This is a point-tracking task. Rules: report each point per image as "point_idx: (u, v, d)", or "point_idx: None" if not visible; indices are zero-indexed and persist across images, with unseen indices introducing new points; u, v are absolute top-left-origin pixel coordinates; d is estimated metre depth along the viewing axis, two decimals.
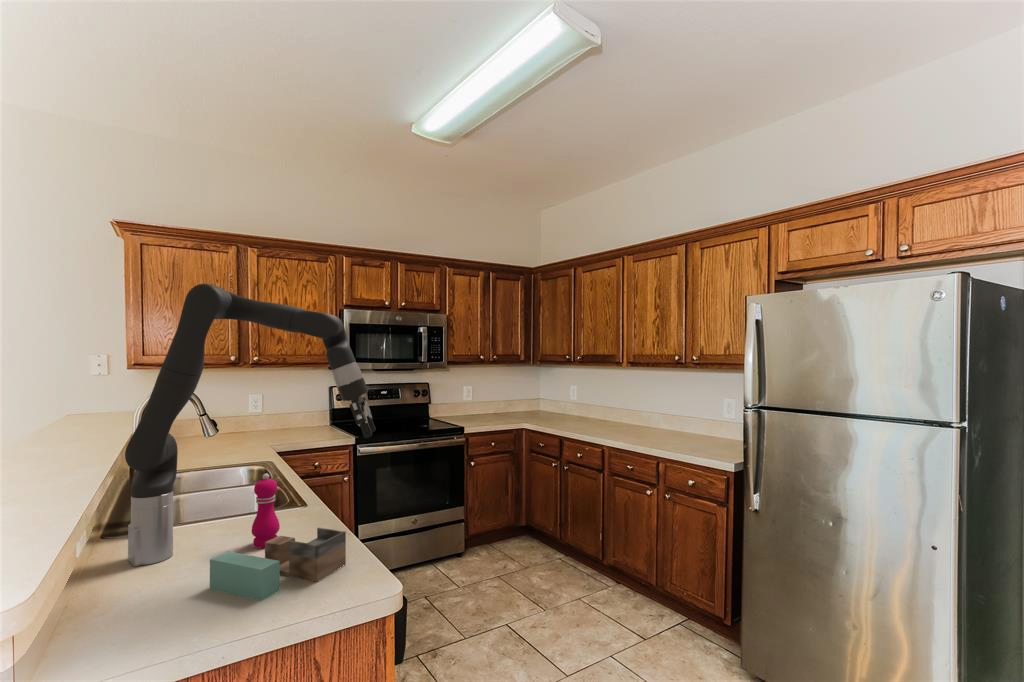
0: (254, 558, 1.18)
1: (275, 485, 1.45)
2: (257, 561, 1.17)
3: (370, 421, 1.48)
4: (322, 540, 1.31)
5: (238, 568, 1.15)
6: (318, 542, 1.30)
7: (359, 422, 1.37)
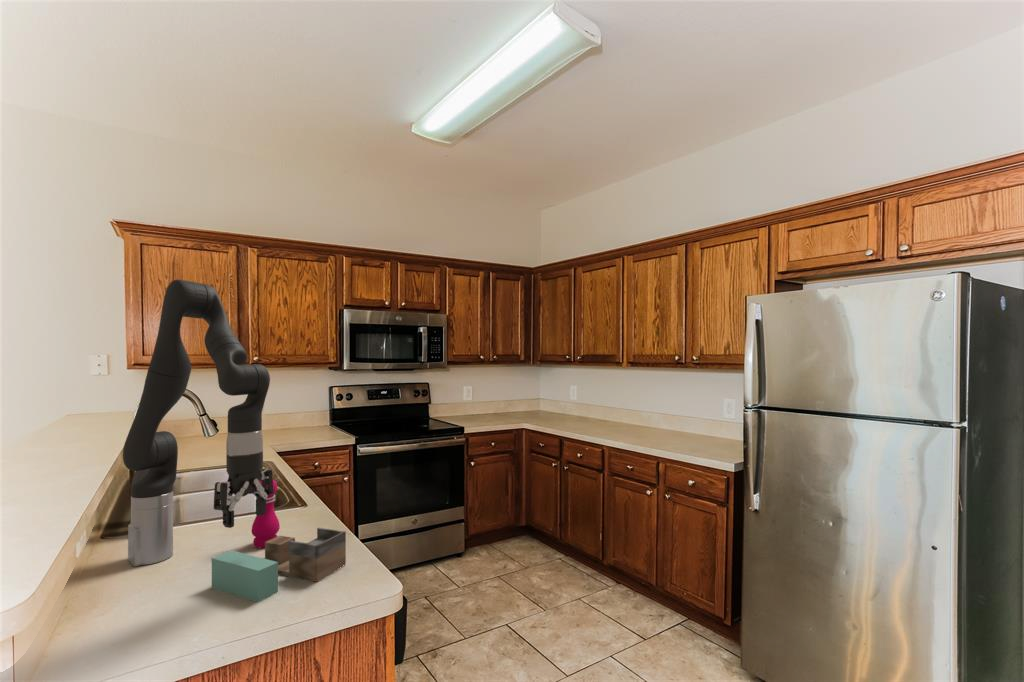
0: (254, 558, 1.18)
1: (275, 485, 1.45)
2: (256, 561, 1.16)
3: (261, 502, 1.21)
4: (322, 540, 1.31)
5: (237, 568, 1.15)
6: (318, 542, 1.30)
7: (216, 508, 1.11)
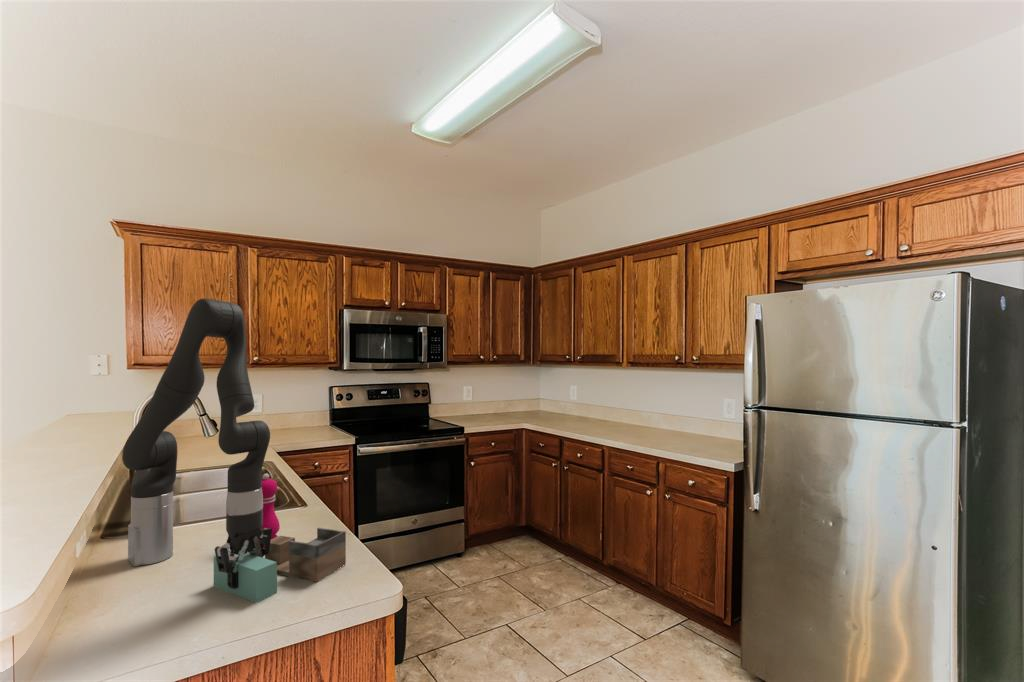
0: (254, 558, 1.18)
1: (275, 485, 1.45)
2: (256, 561, 1.16)
3: None
4: (322, 540, 1.31)
5: None
6: (318, 542, 1.30)
7: (221, 570, 1.12)
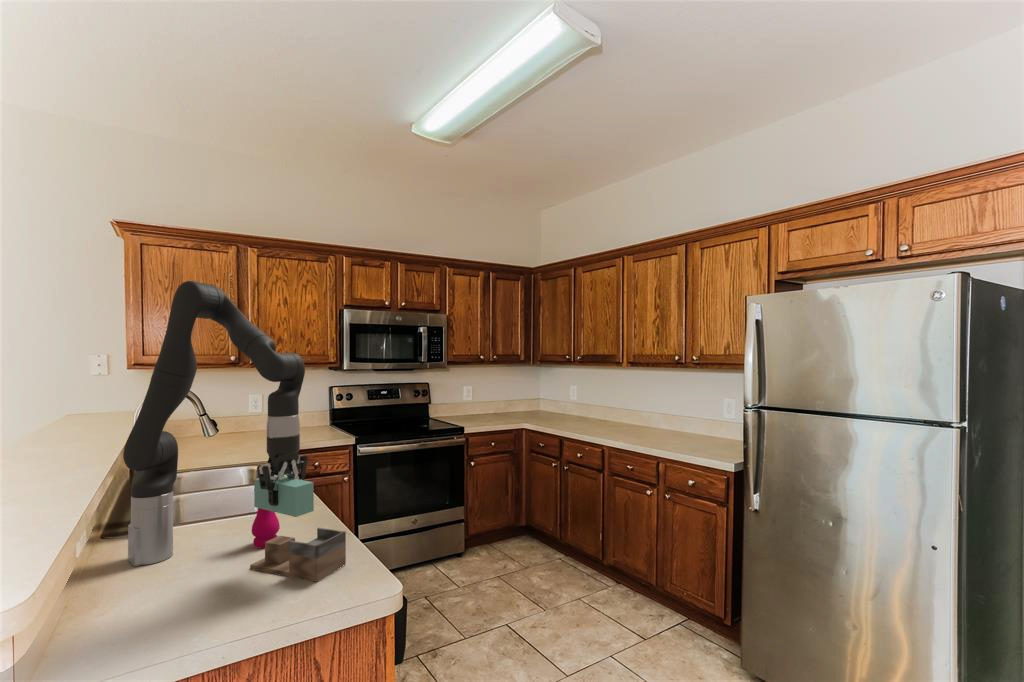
0: (292, 479, 1.27)
1: None
2: (294, 481, 1.25)
3: None
4: (322, 540, 1.31)
5: None
6: (318, 542, 1.30)
7: (263, 487, 1.21)
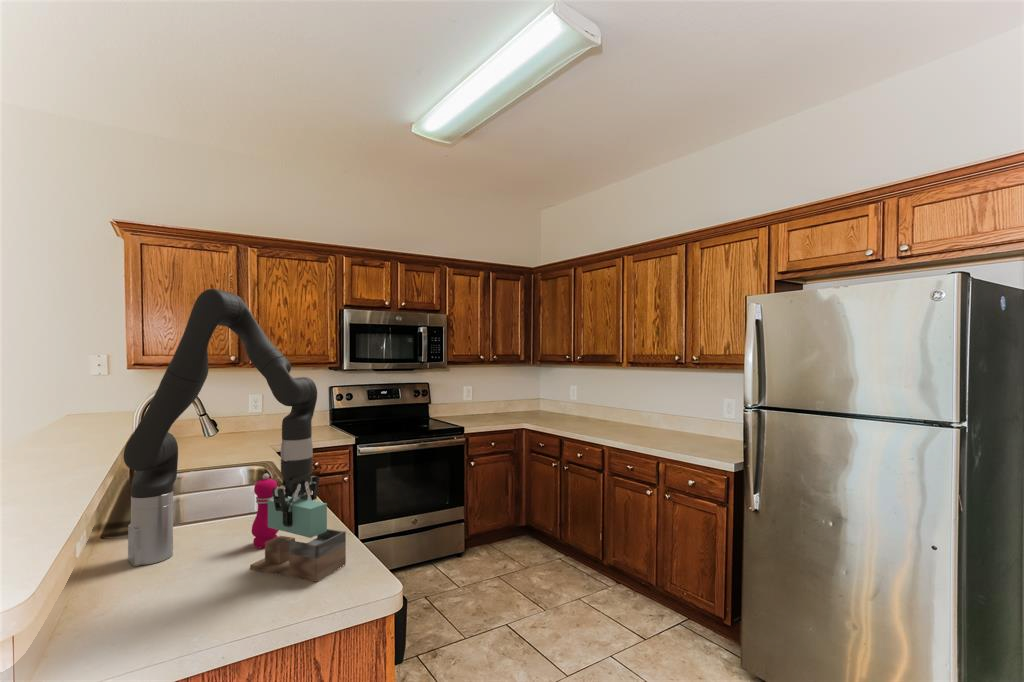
0: (305, 500, 1.30)
1: (275, 485, 1.45)
2: (307, 502, 1.29)
3: None
4: (322, 540, 1.31)
5: None
6: (318, 542, 1.30)
7: (278, 509, 1.25)
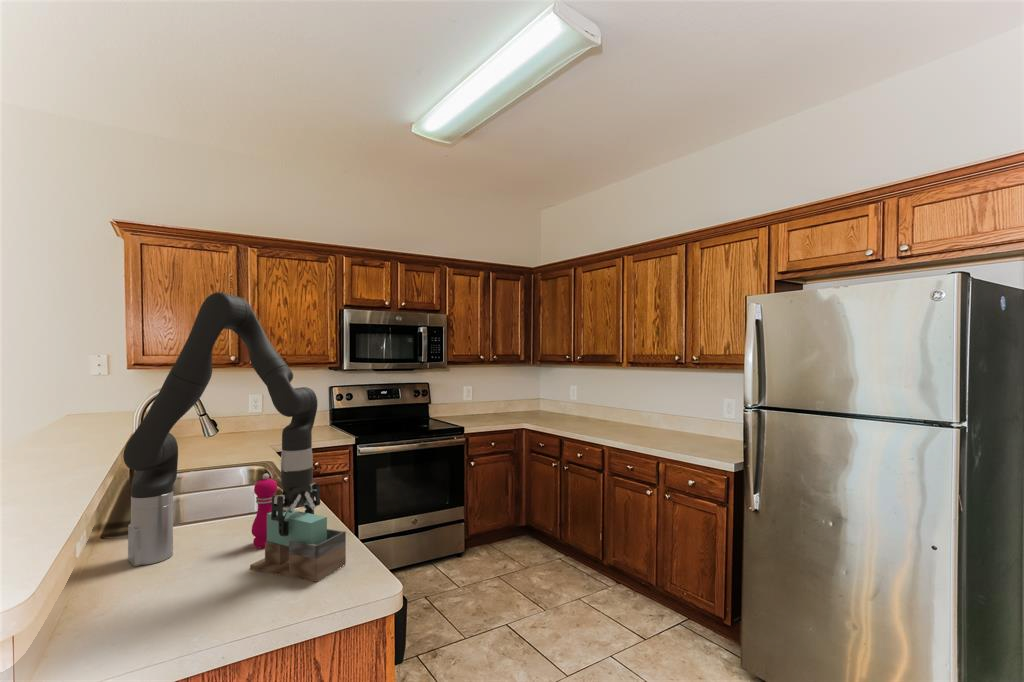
0: (305, 514, 1.30)
1: (275, 485, 1.45)
2: (307, 516, 1.29)
3: None
4: None
5: (291, 522, 1.27)
6: None
7: (274, 519, 1.23)
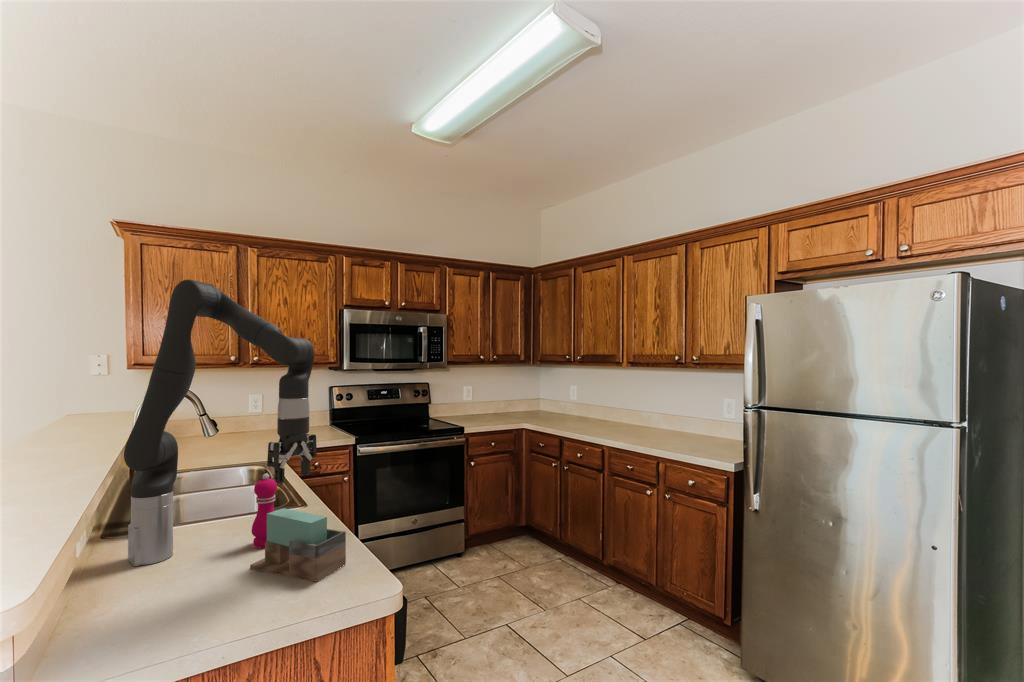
0: (305, 514, 1.30)
1: (275, 485, 1.45)
2: (307, 516, 1.29)
3: (306, 463, 1.34)
4: None
5: (291, 522, 1.27)
6: None
7: (270, 465, 1.24)
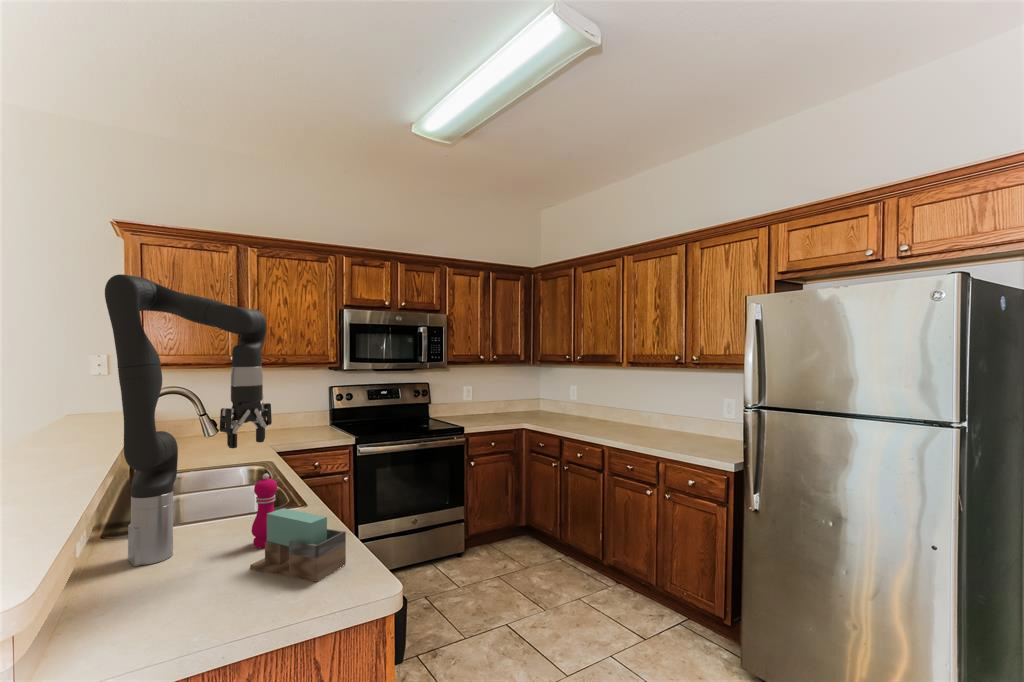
0: (305, 514, 1.30)
1: (275, 485, 1.45)
2: (307, 516, 1.29)
3: (260, 430, 1.38)
4: None
5: (291, 522, 1.27)
6: None
7: (222, 430, 1.28)
